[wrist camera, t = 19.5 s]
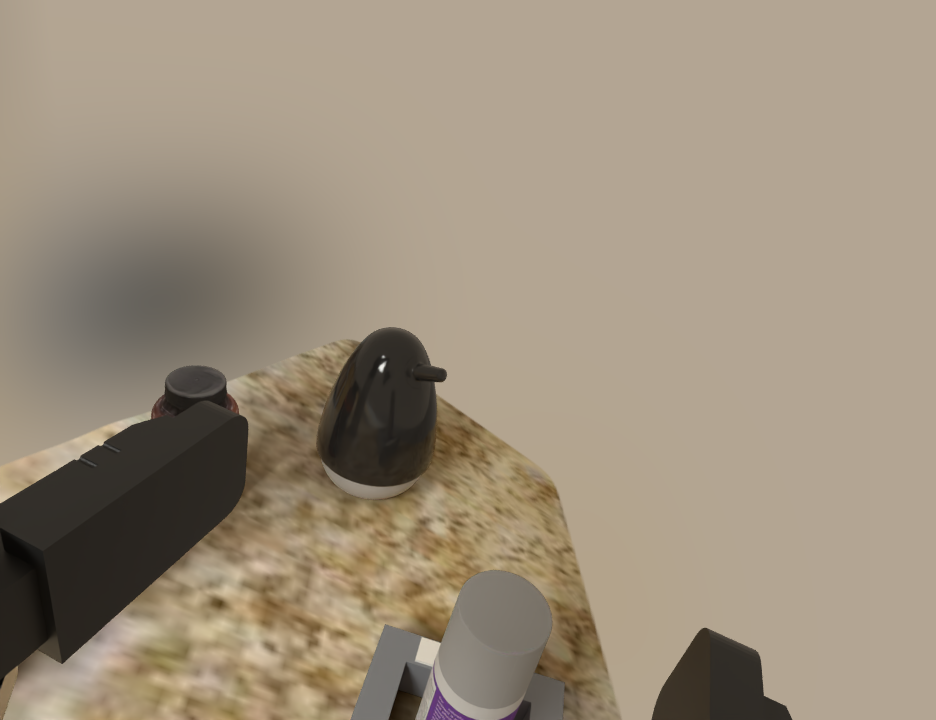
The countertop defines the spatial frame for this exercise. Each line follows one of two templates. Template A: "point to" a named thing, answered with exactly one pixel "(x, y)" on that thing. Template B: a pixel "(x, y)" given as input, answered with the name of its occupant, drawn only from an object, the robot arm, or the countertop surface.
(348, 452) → the pump dispenser
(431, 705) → the container
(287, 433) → the countertop surface
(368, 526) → the countertop surface
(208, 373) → the supplement bottle
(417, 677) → the socket board
